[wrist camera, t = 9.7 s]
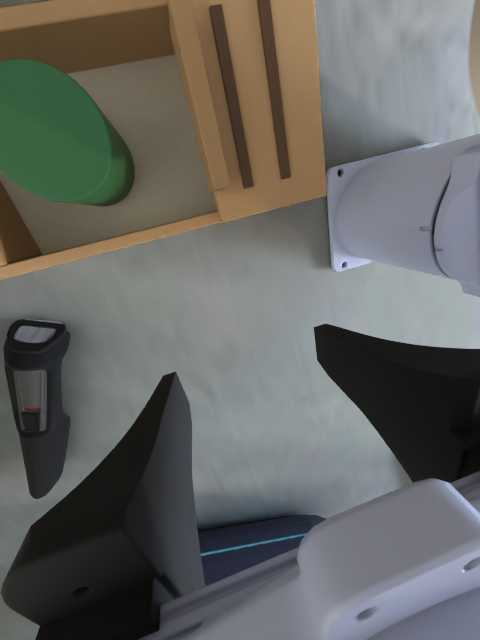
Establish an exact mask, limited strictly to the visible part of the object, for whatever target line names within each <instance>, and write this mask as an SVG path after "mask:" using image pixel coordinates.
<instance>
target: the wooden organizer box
mask: <svg viewBox="0 0 480 640" xmlns="http://www.w3.org/2000/svg"><path fill="white" fill-rule="evenodd" d="M17 58H23V59H32V60H37V61H41V62H44V63H47V64H49V65H51V66H53V67H55V68H57V69H59V70H61V71H63V72H64V73H66V74H67V75H69V76H70V77H71V78H72V79H74V80H75V81H76V82H77V83H78V84H79V85H80V86H81V87H83V88H84V89H85V91H86V92H87V93H88V94H89V95H90V96H91V98H92V99H93V100H94V102H95V103H96V104H97V106H98V107H99V108H100V110H101V111H102V112H103V114H104V115H105V116H106V117H107V119H108V120H109V121H110V123H111V124H112V125H113V127H114V128H115V129H116V131H117V132H118V133H119V135H120V136H121V137H122V139H123V140H124V142H125V143H126V145H127V146H128V148H129V150H130V153H131V155H132V158H133V162H134V168H135V177H134V183H133V186H132V188H131V190H130V192H129V193H128V195H127V196H126V197H125V198H124V199H123V200H122V201H120V202H118V203H116V204H114V205H111V206H91V205H83V204H74V203H65V202H57V201H51V200H47V199H44V198H41V197H38V196H36V195H33V194H31V193H29V192H28V191H26V190H24V189H22V188H21V187H19V186H18V185H17V184H15V183H14V182H13V181H11V180H10V179H9V178H8V177H7V176H6V175H5V174H4V173H3V172H2V171H1V170H0V280H1V279H5V278H9V277H13V276H17V275H20V274H24V273H28V272H32V271H36V270H40V269H44V268H47V267H51V266H55V265H59V264H63V263H67V262H71V261H74V260H78V259H82V258H86V257H90V256H94V255H97V254H101V253H105V252H109V251H113V250H117V249H121V248H124V247H128V246H132V245H136V244H140V243H144V242H148V241H151V240H155V239H159V238H163V237H167V236H171V235H175V234H178V233H182V232H186V231H190V230H194V229H198V228H202V227H205V226H209V225H213V224H217V223H221V222H228V221H232V220H236V219H240V218H244V217H247V216H251V215H255V214H259V213H263V212H267V211H271V210H274V209H278V208H282V207H286V206H290V205H294V204H297V203H301V202H305V201H309V200H313V199H317V198H321V197H324V196H326V195H327V188H326V172H325V156H324V140H323V124H322V108H321V92H320V76H319V60H318V44H317V28H316V12H315V0H51V1H44V2H37V3H30V4H23V5H17V6H10V7H3V8H0V62H2V61H5V60H9V59H17Z"/></svg>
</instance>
